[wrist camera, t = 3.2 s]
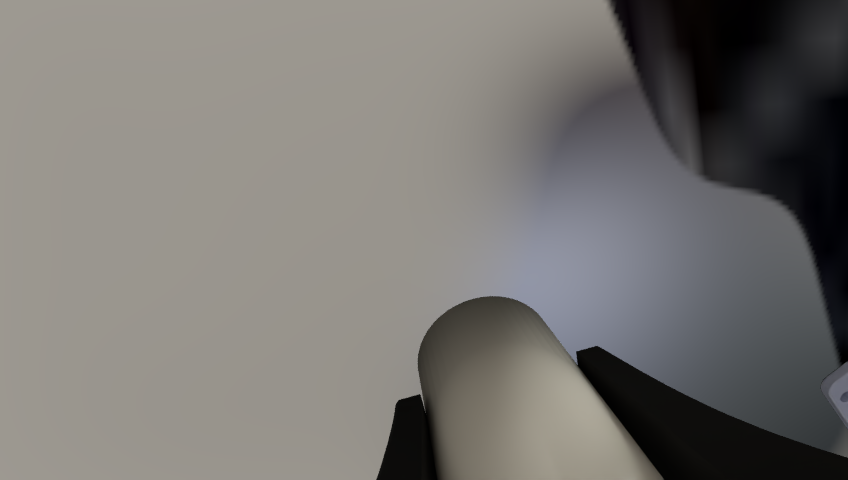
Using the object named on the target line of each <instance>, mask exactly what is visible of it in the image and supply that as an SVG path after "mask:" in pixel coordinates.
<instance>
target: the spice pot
mask: <svg viewBox="0 0 848 480" xmlns="http://www.w3.org/2000/svg"><path fill="white" fill-rule="evenodd" d="M418 371H419V377H420V383H421V388H422V394H423V400H424V406H425V412H426V417H427V423H428V429H429V434H430V440H431V446H432V452H433V458H434V464H435V470H436V475H437V480H664V479H663V477H662V476H661V475H660V473H659V472H658V471H657V469H656V468H655V467H654V465H653V464H652V463H651V461H650V460H649V459H648V458H647V456H646V455H645V454H644V452H643V451H642V450H641V448H640V447H639V446H638V444H637V443H636V442H635V440H634V439H633V438H632V436H631V435H630V434H629V433H628V431H627V430H626V429H625V427H624V426H623V425H622V423H621V422H620V421H619V419H618V418H617V417H616V415H615V414H614V413H613V411H612V410H611V409H610V407H609V406H608V405H607V404H606V402H605V401H604V400H603V398H602V397H601V396H600V394H599V393H598V392H597V390H596V389H595V388H594V386H593V385H592V384H591V382H590V381H589V380H588V379H587V377H586V376H585V375H584V373H583V372H582V371H581V369H580V368H579V367H578V365H577V364H576V363H575V362H574V360H573V359H572V358H571V356H570V355H569V354H568V352H567V351H566V350H565V348H564V347H563V346H562V344H561V343H560V342H559V340H558V339H557V338H556V336H555V335H554V334H553V332H552V331H551V330H550V328H549V327H548V326H547V325H546V323H545V322H544V321H543V319H542V318H541V317H540V316H539V315H538V313H537V312H535V311H534V310H533V309H532V308H530V307H529V306H527V305H526V304H524V303H522V302H519V301H517V300H514V299H510V298H506V297H496V296H494V297H493V296H489V297H480V298H475V299H472V300H468V301H465V302H463V303H461V304H459V305H457V306H455V307H453V308H451V309H450V310H448V311H447V312H445V313H444V314H443V315H442V316H440V317H439V318H438V319H437V320H436V321H435V322H434V323H433V325H432V326H431V327H430V329H429V330H428V331H427V333H426V335H425V336H424V339H423V341H422V343H421V346H420V350H419V354H418Z"/></svg>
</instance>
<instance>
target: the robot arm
mask: <svg viewBox="0 0 848 480" xmlns="http://www.w3.org/2000/svg"><path fill="white" fill-rule="evenodd" d="M576 354H577V362H578V367H579V368H580V369H581V371H582V372H583V373H584V375H585V376H586V377H587V379H588V380H589V381H590V382H591V384H592V385H593V386H594V388H595V389H596V390H597V392H598V393H599V394H600V396H601V397H602V398H603V400H604V401H605V402H606V404H607V405H608V406H609V407H610V409H611V410H612V411H613V413H614V414H615V415H616V417H617V418H618V419H619V421H620V422H621V423H622V425H623V426H624V427H625V429H626V430H627V431H628V433H629V434H630V435H631V436H632V438H633V439H634V440H635V442H636V443H637V444H638V446H639V447H640V448H641V450H642V451H643V452H644V454H645V455H646V456H647V458H648V459H649V460H650V461H651V463H652V464H653V465H654V467H655V468H656V469H657V471H658V472H659V473H660V475H661V476H662V477H663V479H664V480H848V458H847V457H843V456H840V455H837V454H834V453H831V452H827V451H824V450H821V449H817V448H815V447H812V446H809V445H806V444H803V443H800V442H797V441H794V440H791V439H789V438H786V437H783V436H780V435H777V434H774V433H772V432H769V431H767V430H764V429H761V428H759V427H756V426H754V425H752V424H749V423H747V422H744V421H742V420H739V419H737V418H734V417H732V416H729V415H727V414H725V413H723V412H720V411H718V410H716V409H714V408H711V407H709V406H707V405H705V404H703V403H701V402H699V401H697V400H695V399H693V398H691V397H689V396H686V395H684V394H683V393H681V392H678V391H677V390H675V389H673V388H671V387H669V386H667V385H665V384H663V383H661V382H660V381H658V380H656V379H654V378H652V377H650V376H649V375H647V374H645V373H643V372H642V371H640V370H638V369H636V368H634V367H633V366H631V365H629V364H628V363H626V362H624V361H622V360H621V359H619V358H617V357H616V356H614V355H612V354H611V353H609V352H607V351H605V350H604V349H602V348H600V347H598V346H595V347H591V348H588V349H584V350H580V351H577V352H576ZM821 391H822V393H823V394H824V396H825V397H826V399H827V400H828V402H829V403H830V404H831V406H832V407H833V409H834V410H835V412H836V413H837V414H838V416H839V417H840V419H841V420H842V422H843V423H844V425H845V426H846V428H847V429H848V361H847V362H846V363H844V364H843V365H842V366H840V367H839V368H837V369H836V370H835V371H833V372H832V373H831V374H829V375H828V376H827V377H826V378H825V379H824V380H823V381H822V383H821ZM376 480H437V475H436V470H435V464H434V458H433V452H432V446H431V440H430V434H429V429H428V423H427V417H426V413H425V409H424V406H423V402H422V399H421V395H420V394H419V395H416V396H412V397H409V398H405V399H401V400H399V401H398V402H397V403H396V407H395V413H394V419H393V424H392V428H391V432H390V436H389V441H388V445H387V448H386V451H385V454H384V458H383V461H382V465H381V468H380V471H379V474H378V477H377V479H376Z"/></svg>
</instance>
